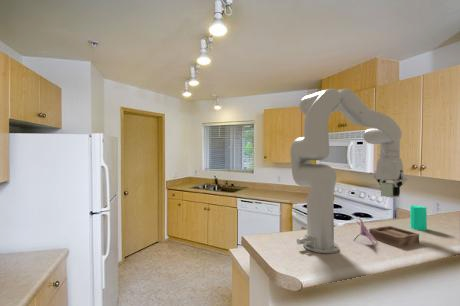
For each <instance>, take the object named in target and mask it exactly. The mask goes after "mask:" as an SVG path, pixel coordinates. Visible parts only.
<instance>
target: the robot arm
mask: <svg viewBox="0 0 460 306" xmlns="http://www.w3.org/2000/svg"><path fill="white" fill-rule="evenodd" d="M299 110H300V112H301V113H302V114H303V115H304V116H305V118H304V121H303V136H302V137H297V138H296V139H294V140H293V142H292V143H291V146H290V154H289V155H290V164H291V171H292V172H291V174H292V179H293V180H294V182H295V184H296V185H298V186H300V187H305V188H310V191H309V192H308V194H307V197H306V234H304V237H303V238H297V239H296V244H297V245H303V247H304V248H305V249H306V250H308V251H311V252H313V253H318V254H334V253H337V252H338V251H339V249H340V248H339V245H338V244H337V243H336V242H335V223H334V221H335V220H334V218H335V215H334V214H335V213H334V212H335V211H334V201H335V200H334V197H335V196H334V195H335V194H334V193H335V187H336V182H337V172H336V170H335V169H334V168H333V166H331V165H328V164H324V163H311V161H323V160H326V159H327V158H328V157H329V155H330V140H329V129H328V128H329V127H328V126H329V119H330V117H331V115H332V113H335V112H340V113H341V114H342V116H345V118H346V119H347V120H348V121H349V122H350V123H351V124H353V125H356V126H357V127H358V126H360V127H363V128H364V127H365V128H367V129H366V130H365V131H364V132H363V139H364V141H365V142H366V143H368V144H371V145H378V144H379V152H378V153H377V155H378V156H379V157H378V158H377V162H376V168H375V169H376V170H375V171H376V172H375V175H374V179H375V180H376V181H377V182H378V185H379V186H381V183H388V182H387V181H392V183H394V186H395V187H393V196H399V197H400V194H401V189H400V188H401V187H402V185H404V184H405V183H406V182H408V179H407V176H405V174H404V165H403V160H402V158H401V154H400V153H401V151H400V149H401V147H400V146H401V144H400V142H401V139H402V135H403V134H402V129H401V127H400V126H399V125H398V124H397V122H396V121H395V120H394V119H393V118H392V117H391V116H389V115H387V114H384V113H381V112H379V111H376V110H373V109H370V108H369V107H368V106H367V105H366V104H365V103H364V101H362V99H361V98H360V97H359V96H358V95H357V94H356V93H355V92H354V91H353V90H352V89H350V88H342V89H336V88H326V89H323V90H320V91H317V92H314V93H312V94H308V95H305V96H304V97H302V98H301V100H300V102H299Z"/></svg>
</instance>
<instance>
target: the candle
mask: <svg viewBox="0 0 460 306" xmlns="http://www.w3.org/2000/svg"><path fill="white" fill-rule="evenodd" d="M409 208H410V210H409V211H410V215H409V218H410V219H409V220H410V222H409V223H410V225H409V227H410V228H411V229H413V230H416V231H427V229H428V228H427V226H428V224H427V220H428V218H427V216H428V215H427V213H428V212H427V206H421V205H419V204H417V205H413V204H410V205H409Z"/></svg>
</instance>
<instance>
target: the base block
mask: <svg viewBox="0 0 460 306" xmlns="http://www.w3.org/2000/svg"><path fill="white" fill-rule="evenodd" d="M368 229H369V231H368V232H370V233H371V234H372V235H373V236H374V238H375V239H376V241H378V242H382V243H384V244H388V245H390V246H393V247H396V248H399V249H400V248H403V247H407V246H412V245H417V244H420V234H419V233H417V232H414V231H413V232H412V231H409V230H405V229H402V228H398V227H396V226H395V227H394V226H391V225H384V226H379V227H373V228H368Z"/></svg>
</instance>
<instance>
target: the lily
mask: <svg viewBox="0 0 460 306" xmlns="http://www.w3.org/2000/svg"><path fill="white" fill-rule="evenodd" d="M357 217H358V219H359V221H360V222H359V221H356V223H357V224H358V225H359V227H360V230H359V234H358V235H357V236H356V237H355V238H354V239H353V242H355V241H356V239H357V238H358V237H360V236H364V237H366V238H367V239H368V240H370V242H371V243H372V245H373V246H374V247H376V245H375V243H374V241H375V242H377V241H378V240H376V239H375V238H374V236H373V235H372V234H371V233H370V232H369V229H370V228H367V227H366V225H365V224H364V222H363V220H362V219H361V217H360V216H357ZM377 243H378V242H377Z"/></svg>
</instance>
